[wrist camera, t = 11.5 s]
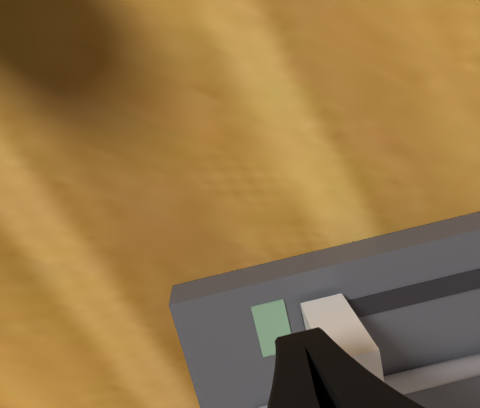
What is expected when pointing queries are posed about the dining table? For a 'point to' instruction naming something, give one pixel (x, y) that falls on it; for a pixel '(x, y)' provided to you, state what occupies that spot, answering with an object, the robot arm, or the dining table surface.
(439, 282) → the slider control panel
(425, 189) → the dining table surface
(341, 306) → the breaker
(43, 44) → the dining table surface
